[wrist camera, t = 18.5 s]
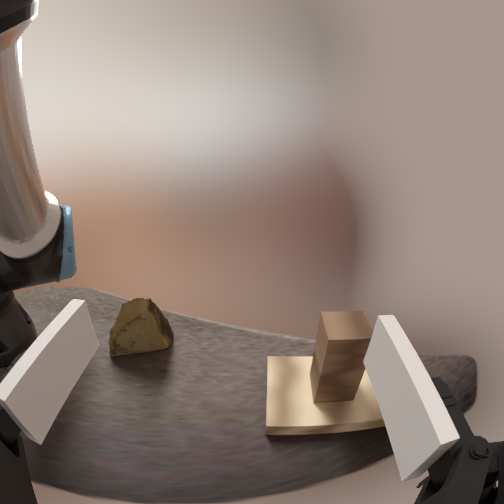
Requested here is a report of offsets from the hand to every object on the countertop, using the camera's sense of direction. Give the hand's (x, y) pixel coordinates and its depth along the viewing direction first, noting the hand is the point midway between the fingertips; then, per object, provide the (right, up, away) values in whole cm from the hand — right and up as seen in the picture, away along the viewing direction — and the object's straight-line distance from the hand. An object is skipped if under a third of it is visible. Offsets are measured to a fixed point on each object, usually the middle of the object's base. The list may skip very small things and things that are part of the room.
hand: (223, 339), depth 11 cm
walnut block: (+11, -13, +20) cm, 26 cm away
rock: (-17, -12, +30) cm, 36 cm away
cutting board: (+11, -15, +21) cm, 28 cm away
